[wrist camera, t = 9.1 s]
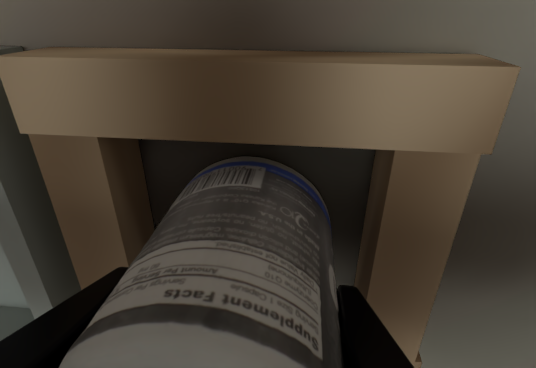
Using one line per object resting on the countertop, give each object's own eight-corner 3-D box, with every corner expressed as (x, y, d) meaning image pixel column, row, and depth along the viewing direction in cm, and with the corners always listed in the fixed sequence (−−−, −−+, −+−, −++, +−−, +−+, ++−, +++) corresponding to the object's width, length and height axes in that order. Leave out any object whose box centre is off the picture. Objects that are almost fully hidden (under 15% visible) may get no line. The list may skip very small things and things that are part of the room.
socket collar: (477, 54, 8) (520, 67, 6) (397, 346, 12) (410, 396, 11) (50, 47, 9) (-8, 55, 7) (125, 319, 13) (100, 361, 12)
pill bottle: (295, 297, 12) (268, 781, 4) (166, 251, 12) (-91, 688, 4) (359, 186, 10) (515, 795, 2) (200, 126, 9) (-228, 595, 2)
